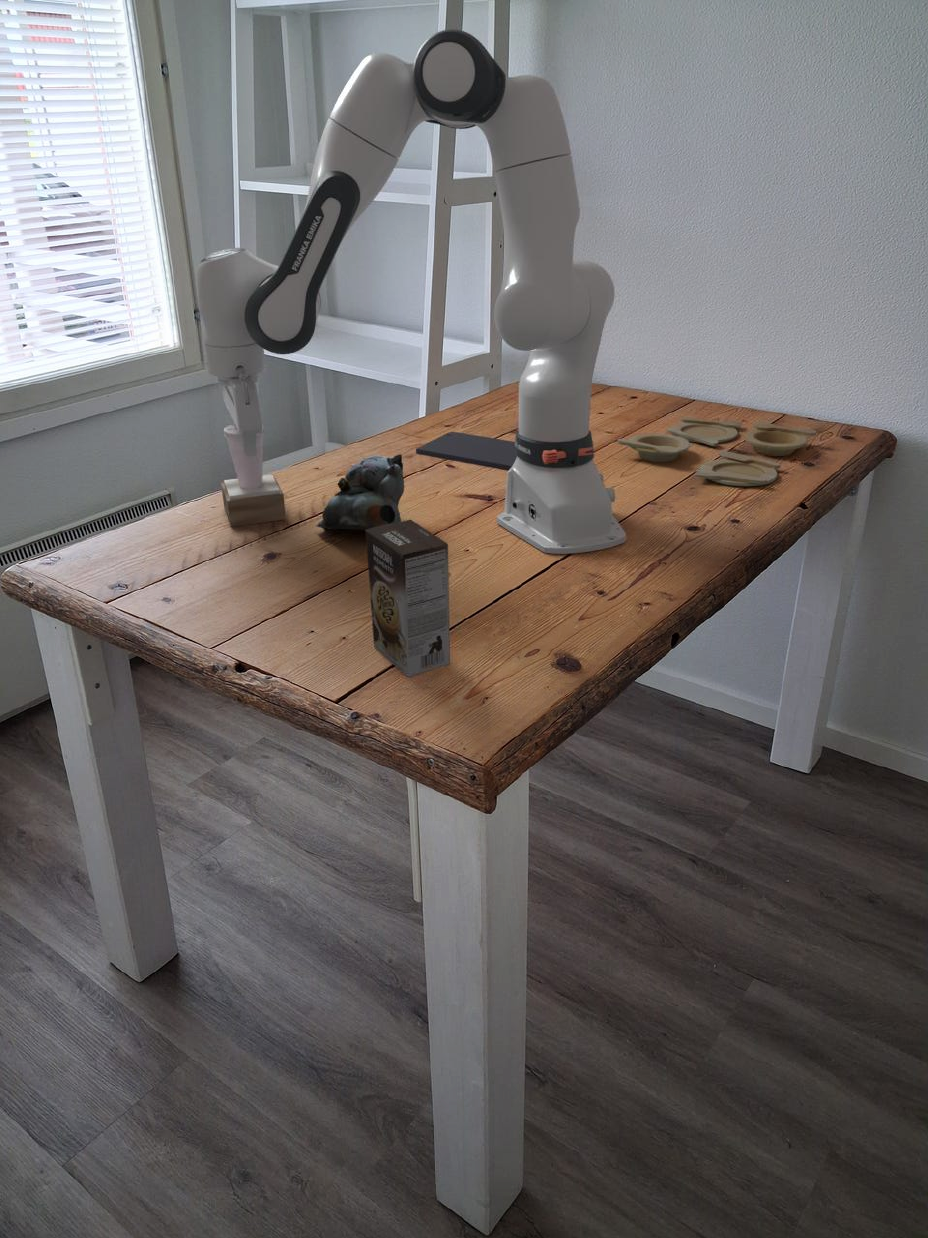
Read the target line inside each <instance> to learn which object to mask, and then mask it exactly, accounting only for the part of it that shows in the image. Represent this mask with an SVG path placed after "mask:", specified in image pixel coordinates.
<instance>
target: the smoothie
mask: <svg viewBox="0 0 928 1238" xmlns="http://www.w3.org/2000/svg"><path fill="white" fill-rule="evenodd" d="M264 426H265V425H263V424H262V432H261V433H257V434H256V451H257V454H256V455H255V456H246V455H245V453H244V447H243V439H242V435H241V434H239V432H238V430H237V427H236V425H235V424H234V423H233V424H230V425H227V426H226V427H224V429H223V434H224V437H225V438H226V440H227V443H228V447H229V451H230V455H231V458H232V462H233V467H234V470H235V474H236V479H238V482H239V486H240V487H241V488H243V489H254V488H258V487H260V486H262V476H263V456H264V455H263V445H264V442H263V440H264V439H263V437H264V436H263V435H264V434H265V428H264Z"/></svg>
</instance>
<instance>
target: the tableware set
mask: <svg viewBox="0 0 928 1238" xmlns="http://www.w3.org/2000/svg"><path fill="white" fill-rule="evenodd" d="M680 418H681V419H680V422H679V423H676V424H674V425H672V426H671V427H667V428H666V430H665V433H642V434H636V435H634V436H632V437H630V438H629V439H626V438H618V439H617V444H618V445H623V446H628V447H630V449H632V450H635V451H636V452H637V453H638V454H639V458H640V459H642V460H644V461H648V462H653V463H669V462H672V461H674V460H676V459H677V458H678V456H679V454H681V453H684V452H686V451H688V450H689V448H690V447H691V443H697V444H698V443H699V444H705V445H708V446H711V447H717V446H718V445H719V444H720V443H721V444H722V443H728V442H730V441H733V440H735V439H736V438H737V437H738V435H739V433H738V430H737V429H736V428H740V427H741V425H742V424H743V423H742V422H741V421H736V420H735V421H734V420H712V419H703V418H696V417H695V418H694V417H685V416H682V417H680ZM752 425H753V427H754V428H755V429H754V430H753V429H752V430H749V431H748V432H746V433H745V434H744V440H745V442H746V443H748V444H750V445H751V446H754V449H755V451H756V452H757V453H758V454H759V453H760V454H761V455H766V456H772V457H782V456H783V457H785V456H789V455H791V454H793V452H794V451H795V450H796V449H800V448H802V447H805V446H806V445H807V443H808V438H807V437H806V436H809V437H811V436H812V437H814V436H817V431H816V430H814V429H806V428H796V427H787V426H782V425H781V426H780V425H776V424H773V423H770V422H755V423H754V424H752ZM690 442H691V443H690ZM718 456H719V457H722V458H720V459H714V460H710V461H707V462H705V463H703V464H701V466H700V469H697V470H696V472H695V473H694V477H696V478H701V479H707V480H709V481H712V482H715V483H718V484H722V485H727V486H734V487H735V486H736V487H758V486H764V485H768V484H771V483H773V482H775V481H776V480H777V478H778V471H777V470H776V469H780V468H781V466H782V465H781V463H778V462H774V461H770V460H766V459H761V458H757V457H753V456H747V455H744V454H741V453H739V454H738V453H735V452H730V451H726V450H720V451H719V453H718Z"/></svg>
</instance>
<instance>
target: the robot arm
mask: <svg viewBox="0 0 928 1238" xmlns="http://www.w3.org/2000/svg"><path fill="white" fill-rule="evenodd" d="M350 76H351V77H350V78H349V79H348V81H347V83H346V84H345V86H344V87H343V89H342V91H341V93H340V95H339V96H338V99H337V100H336V102H335V104H334V106H333V108H332V111H331V112H330V114H329V117H328V119H327V121H326V124H325V126H324V129H323V131H322V135H321V138H320V140H319V144H318V145H317V149H316V150H317V151H316V153H315V156H314V162H313V167H312V172H311V178H310V183H309V187H308V188H309V189H308V193H307V199H306V203H305V205H304V209H303V213H302V215H301V219H300V220H299V223H298V224H297V226H296V230H295V231H294V233H293V235H292V237H291V240H290V242H289V245H288V246H287V248H286V250H285V253H284V255H283V257H282V260H281V262H280V263H279V265H276V264H273V263H270V262H268V261H265V260H264V259H262V258H260V257H258V256H256V255H255V254H253V253H252V252H251V251H249V250H248V249H247V248H244V247H230V248H225V249H221V250H217V251H214V252H212V253H211V252H210V254H208V255H206V256H204V258H202V259H201V260H200V262H199V264H198V265H197V269H196V270H197V271H196V287H197V301H198V307H199V315H200V317H201V320H202V322H203V325H204V336H203V344H204V351H205V359H206V364H207V373H208V374H209V375H210V376H213V377H216V379H217V384H219V387H220V391H221V396H222V399H223V401H224V404H225V406H226V408H227V410H228V412H229V415H230V416H231V419H232V420H233V424H235V425H236V427H237V430H238V432H239V434H241V435H242V439H243V447H244V453H245V455H246V456H255V455H256V454H257V451H256V434H257V433H261V432H262V425H263V419H262V412H261V404H260V398H259V393H258V389H257V384H256V383H258V382H259V381H260V380H259V377H260V376H259V374H261V373H263V372H265V371H266V368H267V367H266V359H265V351H267V352H270V353H272V354H277V355H291V354H294V353H297V352H300V351H301V350H302V349H304V348H305V347H306V346H307V345H308V344H309V343H310V341H311V339H312V338H313V336H314V333H315V329H316V326H317V325H316V324H317V319H318V317H319V314H320V311H321V305H322V303H321V302H322V301H321V295H320V294H321V293H320V289H321V287H322V284H323V282H324V280H325V277H326V276H327V274H328V272H329V269H330V267H331V266H332V263H333V261H334V259H335V256H336V254H337V252H338V250H339V248H340V246H341V244H342V242H343V240H344V238H345V236H346V235H347V233H349V230H350V229H351V228H352V226H353V225H354V224H355V223H356V221H357V220H358V219H359V218H360V217H361V216H362V214H363V213H364V212H365V211H366V210H367V208H369V206H370V205H371V204H372V202H373V201H374V200H375V199H376V198H377V196H378V195H379V193H380V192H381V191H382V189H383V188H384V186H385V185H386V184H387V182H388V180H389V179H390V177H391V175H392V173H393V171H394V170H395V167H396V165H397V164H398V162H399V160H400V157H401V156H402V153H403V151H404V150H405V147H406V145H407V143H408V140H409V139H410V137H411V136H412V133H413V132H414V130H416V128H417V127H418V126H419V125H420V124H422V123H423V122H426V123H431V124H434V125H435V124H436V125H441V126H443V127H447V128H451V129H456V130H464V129H470V128H471V129H472V128H473V127H478V128H479V129H480V130H481V131H482V133H483V134H484V136H485V138H486V142H487V143H488V147H489V152H490V155H491V162H492V168H493V172H494V177H495V184H496V189H497V190H496V191H497V195H498V201H499V202H498V203H499V207H500V214H501V218H502V225H503V236H504V237H503V239H504V240H503V243H504V244H503V245H504V246H503V247H504V249H503V267H502V281H501V288H500V290H499V294H498V296H497V297H496V300H495V303H494V307H493V320H494V325H495V328H496V331H497V333H498V335H499V336H500V338H501V339H502V340H503V341H504V342H505V343H506V344H507V345H508V346H509V347H511V348H512V349H515V350H517V351H522V352H530V353H529V357H528V360H527V363H526V366H525V368H524V369H523V372H522V374H521V375H520V378H519V383H518V429H517V430H516V431H515V439H514V442H515V453H516V455H517V458H516V460H515V462H514V464H513V466H512V467H511V468H510V470H509V471H508V470H507V473H506V485H505V487H506V488H505V497H504V498H505V500H504V510H503V512H500V514H498V515H497V517H496V523H497V525H499V526H501V527H502V528H503V529H505V530H507V531H509V532H510V533H512V534H514V535H516V537H518V538H520V539H522V540H523V541H525V542H527V543H528V544H530V545H531V546H533V547H535V548H536V549H537V550H540V551H541V552H543V553H545V554H557V555H559V554H563V555H565V554H566V555H567V554H577V553H578V554H579V553H580V554H581V553H586V552H587V553H588V552H593V551H599V550H604V549H609V548H613V547H615V546H619V545H621V544H623V543H624V542H626V541H627V534H626V532H625V530H624V529H623V528H622V526H621V525H620V523H619V521H618V520H617V519H616V518H615V516H614V515H613V513H612V512H613V510H612V503H614V502H615V499H616V492H615V489H614V488H613V487H606V486H605V483H604V474H603V473H599V470H598V468H597V466H596V464H595V461H594V458H595V452H594V451H595V450H594V449H595V447H594V440H593V438H592V435H593V434H592V431H591V430H590V420H591V419H590V416H591V397H592V383H593V378H594V372H595V367H596V362H597V358H598V354H599V350H600V346H601V341H602V336H603V332H604V327H605V323H606V321H607V318H608V316H609V313H610V311H611V310H612V307H613V305H614V301H615V286H614V282H613V279H612V277H611V276H610V274H609V273H608V272H607V269H605V268H604V267H602V266H601V265H599V264H598V263H595V262H593V261H589V260H583V259H582V260H581V259H574V245H575V235H576V229H577V225H578V223H579V220H580V215H581V207H580V202H579V195H578V187H577V183H576V175H575V170H574V164H573V157H572V151H571V145H570V140H569V136H568V131H567V126H566V123H565V119H564V116H563V112H562V108H561V106H560V103H559V102H560V101H559V100H558V97H557V94H556V92H555V89H554V87H553V85H551V83H550V82H549V81H547V80H546V79H544V78H543V77H541V76H538V75H531V74H524V75H517V76H511V77H510V76H506V74H505V72H504V70H503V69H502V68H501V66H500V65H499V64H498V63H497V62H496V60H495V59H494V57H493V56H492V55H491V53H490V52H489V51H488V49H487V48H486V47H485V46H484V45H483V43H482V42H481V41H480V40H479V39H477V38H476V37H475V36H474V35H472V34H471V33H469V32H467V31H464V30H462V29H453V28H452V29H450V28H449V29H444V30H441V31H437V32H435V33H434V34H432V35H431V36H429V37H428V38H427V39H426V40H425V41H424V42H423V43H422V44H421V45H420V47H419V49H418V50H417V52H416V54H415V57H414V60H413V62H407V61H405V60H403V59H401V58H400V57H397V56H395V55H392V54H390V53H389V54H388V53H383V52H376V53H375V52H374V53H371V54H369V55H367V56H365V57H364V58H363V59H362V60H361V62H360V63H359V65H358V66H357V67H356V68H355V70H354V72H353V73H352V75H350Z"/></svg>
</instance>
